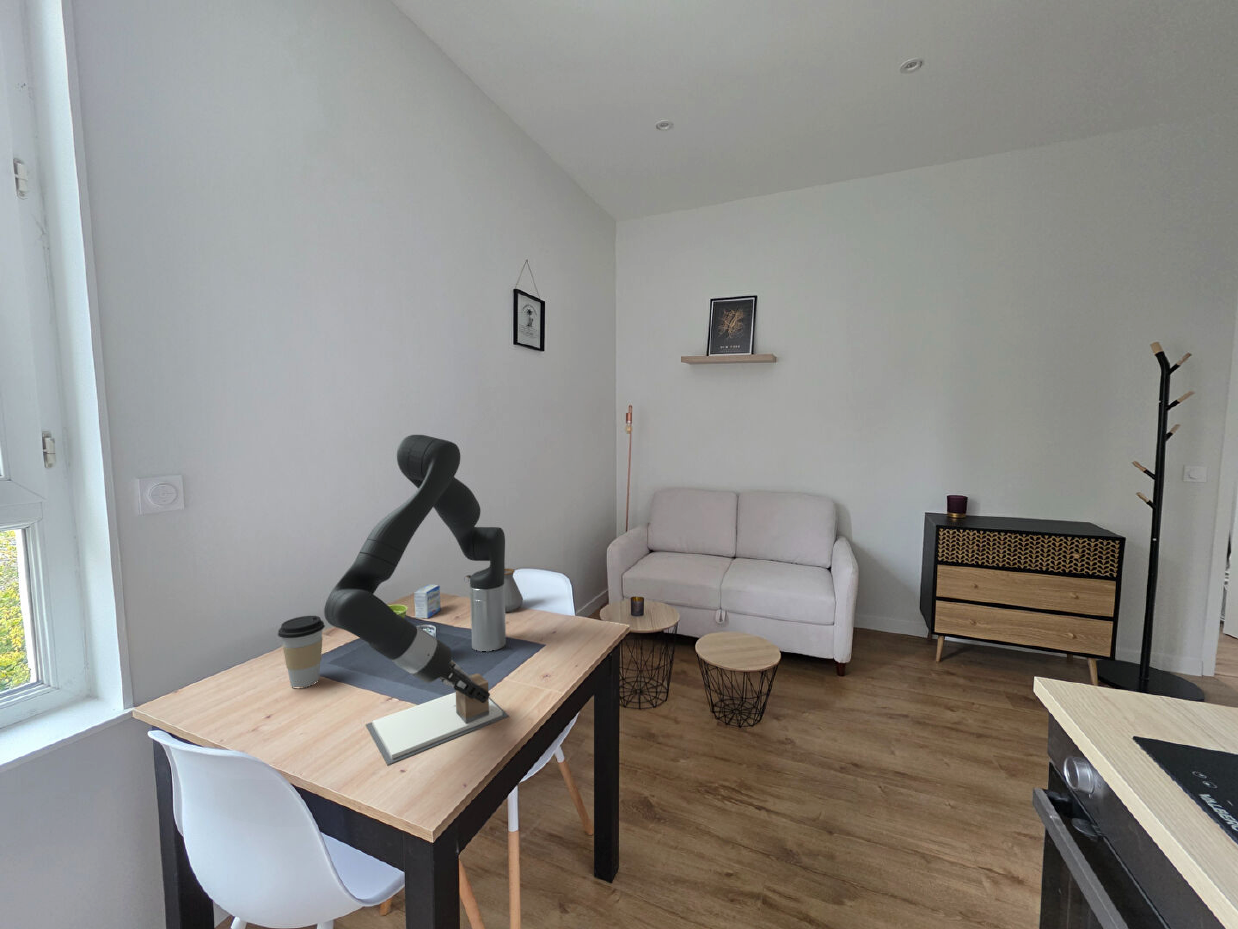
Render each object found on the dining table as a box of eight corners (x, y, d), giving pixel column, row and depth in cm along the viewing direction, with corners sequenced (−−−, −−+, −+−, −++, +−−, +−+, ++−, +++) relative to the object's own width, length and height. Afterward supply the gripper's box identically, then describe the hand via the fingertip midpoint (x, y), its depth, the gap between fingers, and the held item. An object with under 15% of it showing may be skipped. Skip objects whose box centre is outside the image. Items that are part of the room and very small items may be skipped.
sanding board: (365, 725, 103) (365, 720, 103) (477, 686, 118) (477, 682, 118) (387, 765, 91) (387, 760, 91) (508, 716, 106) (508, 711, 106)
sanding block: (456, 713, 105) (455, 680, 105) (478, 704, 109) (478, 673, 108) (465, 723, 102) (464, 690, 101) (489, 714, 105) (488, 682, 104)
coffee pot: (507, 600, 177) (506, 558, 176) (530, 607, 170) (529, 563, 169) (455, 618, 160) (454, 572, 159) (478, 627, 153) (476, 579, 152)
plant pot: (391, 630, 151) (390, 602, 151) (415, 635, 148) (414, 606, 147) (365, 643, 143) (363, 613, 142) (390, 648, 139) (388, 618, 138)
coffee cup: (336, 677, 123) (333, 617, 122) (297, 696, 114) (293, 632, 113) (311, 670, 127) (307, 612, 126) (271, 687, 118) (268, 625, 117)
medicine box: (427, 619, 160) (426, 592, 160) (414, 618, 161) (413, 591, 161) (441, 610, 168) (440, 585, 167) (428, 609, 169) (428, 584, 168)
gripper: (447, 649, 94) (508, 690, 102) (422, 626, 105) (478, 664, 113) (419, 686, 91) (484, 725, 99) (396, 658, 102) (456, 695, 110)
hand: (480, 692), depth 106 cm, fingers closed on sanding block, 5 cm apart
